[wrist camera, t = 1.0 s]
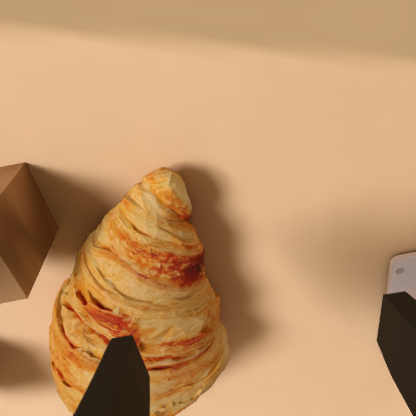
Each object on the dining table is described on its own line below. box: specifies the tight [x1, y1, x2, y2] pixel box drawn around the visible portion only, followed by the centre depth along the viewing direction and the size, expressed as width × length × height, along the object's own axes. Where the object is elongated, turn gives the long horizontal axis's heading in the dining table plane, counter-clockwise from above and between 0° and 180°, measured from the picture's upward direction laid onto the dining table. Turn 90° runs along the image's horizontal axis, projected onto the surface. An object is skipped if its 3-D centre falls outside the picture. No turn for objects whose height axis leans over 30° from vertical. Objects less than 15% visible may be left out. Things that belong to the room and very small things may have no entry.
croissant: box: [49, 167, 230, 416], centre depth 21 cm, size 21×10×8 cm, turn 170°
